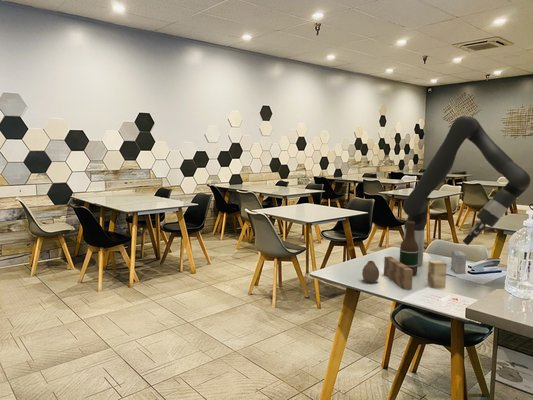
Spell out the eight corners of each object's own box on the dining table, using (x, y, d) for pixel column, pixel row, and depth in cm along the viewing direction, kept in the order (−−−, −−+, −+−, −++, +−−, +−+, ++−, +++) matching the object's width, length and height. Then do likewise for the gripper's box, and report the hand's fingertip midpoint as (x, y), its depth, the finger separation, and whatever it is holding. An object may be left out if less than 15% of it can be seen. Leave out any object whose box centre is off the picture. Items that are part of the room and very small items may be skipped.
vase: (375, 285, 168) (376, 264, 167) (359, 282, 171) (360, 262, 170) (380, 280, 174) (381, 260, 172) (365, 277, 177) (365, 258, 176)
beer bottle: (417, 272, 185) (420, 220, 182) (416, 277, 178) (419, 223, 175) (399, 270, 188) (402, 219, 185) (397, 275, 181) (400, 222, 178)
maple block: (427, 284, 170) (428, 260, 168) (438, 283, 170) (439, 260, 169) (433, 288, 165) (435, 264, 163) (445, 287, 165) (446, 263, 164)
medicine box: (465, 274, 183) (466, 255, 182) (454, 273, 184) (456, 254, 183) (460, 268, 191) (462, 251, 190) (450, 268, 192) (451, 250, 191)
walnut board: (383, 273, 183) (384, 256, 182) (390, 273, 183) (390, 256, 182) (404, 289, 163) (405, 270, 162) (411, 289, 163) (412, 269, 162)
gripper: (482, 207, 175) (456, 237, 178) (485, 206, 162) (457, 238, 165) (498, 218, 172) (471, 248, 176) (502, 218, 159) (474, 250, 163)
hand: (465, 243), depth 171 cm, fingers open, 8 cm apart
